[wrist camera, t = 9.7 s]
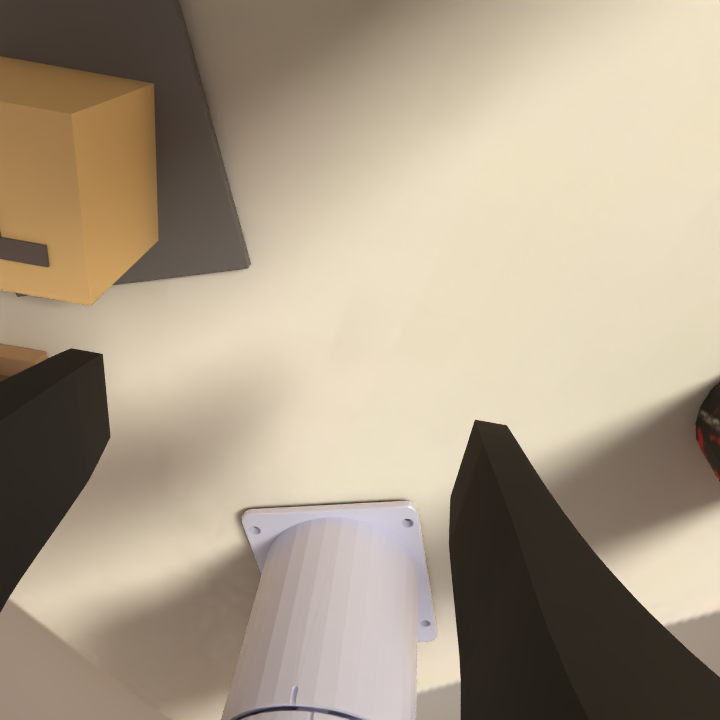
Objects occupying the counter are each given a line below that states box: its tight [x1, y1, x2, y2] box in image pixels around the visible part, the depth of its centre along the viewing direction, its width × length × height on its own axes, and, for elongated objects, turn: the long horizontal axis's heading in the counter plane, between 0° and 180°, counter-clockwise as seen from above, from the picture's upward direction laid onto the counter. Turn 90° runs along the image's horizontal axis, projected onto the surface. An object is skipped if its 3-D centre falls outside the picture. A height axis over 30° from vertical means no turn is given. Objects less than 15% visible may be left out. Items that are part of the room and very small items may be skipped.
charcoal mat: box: [0, 0, 251, 297], centre depth 20 cm, size 9×9×1 cm
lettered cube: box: [0, 56, 159, 306], centre depth 17 cm, size 5×5×5 cm
